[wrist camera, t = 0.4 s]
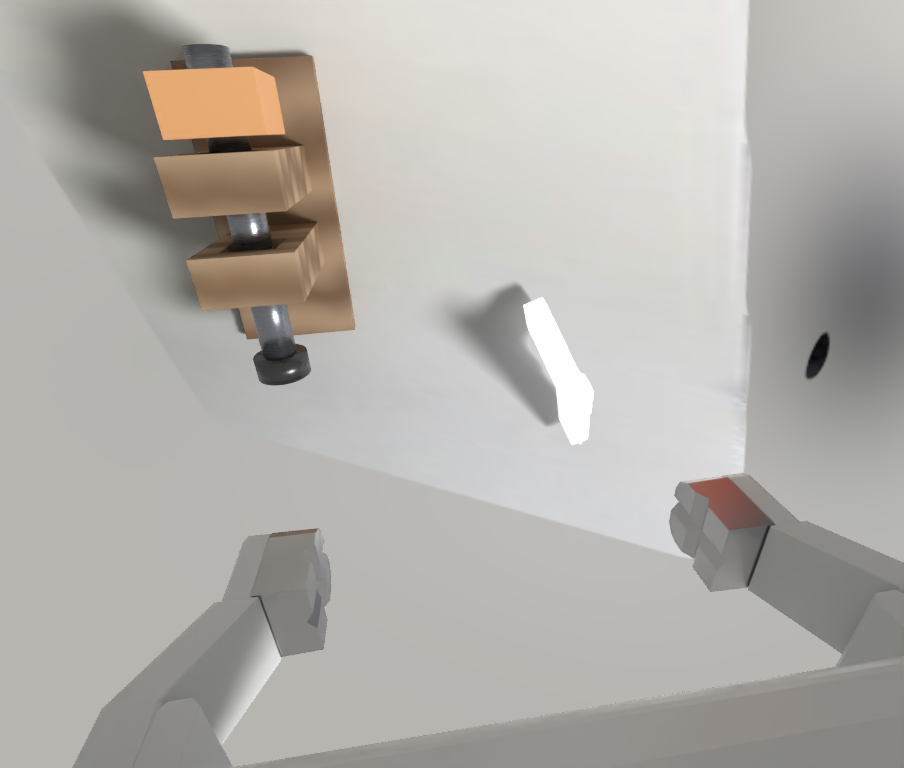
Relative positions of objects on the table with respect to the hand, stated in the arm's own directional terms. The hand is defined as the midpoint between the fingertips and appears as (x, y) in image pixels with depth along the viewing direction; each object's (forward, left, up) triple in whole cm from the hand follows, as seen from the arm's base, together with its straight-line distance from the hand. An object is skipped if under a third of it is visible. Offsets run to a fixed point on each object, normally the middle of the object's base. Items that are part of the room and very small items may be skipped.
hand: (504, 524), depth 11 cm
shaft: (-1, -14, -36) cm, 39 cm away
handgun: (+20, +16, -45) cm, 52 cm away
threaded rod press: (-1, -14, -45) cm, 47 cm away
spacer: (-10, -14, -38) cm, 42 cm away
